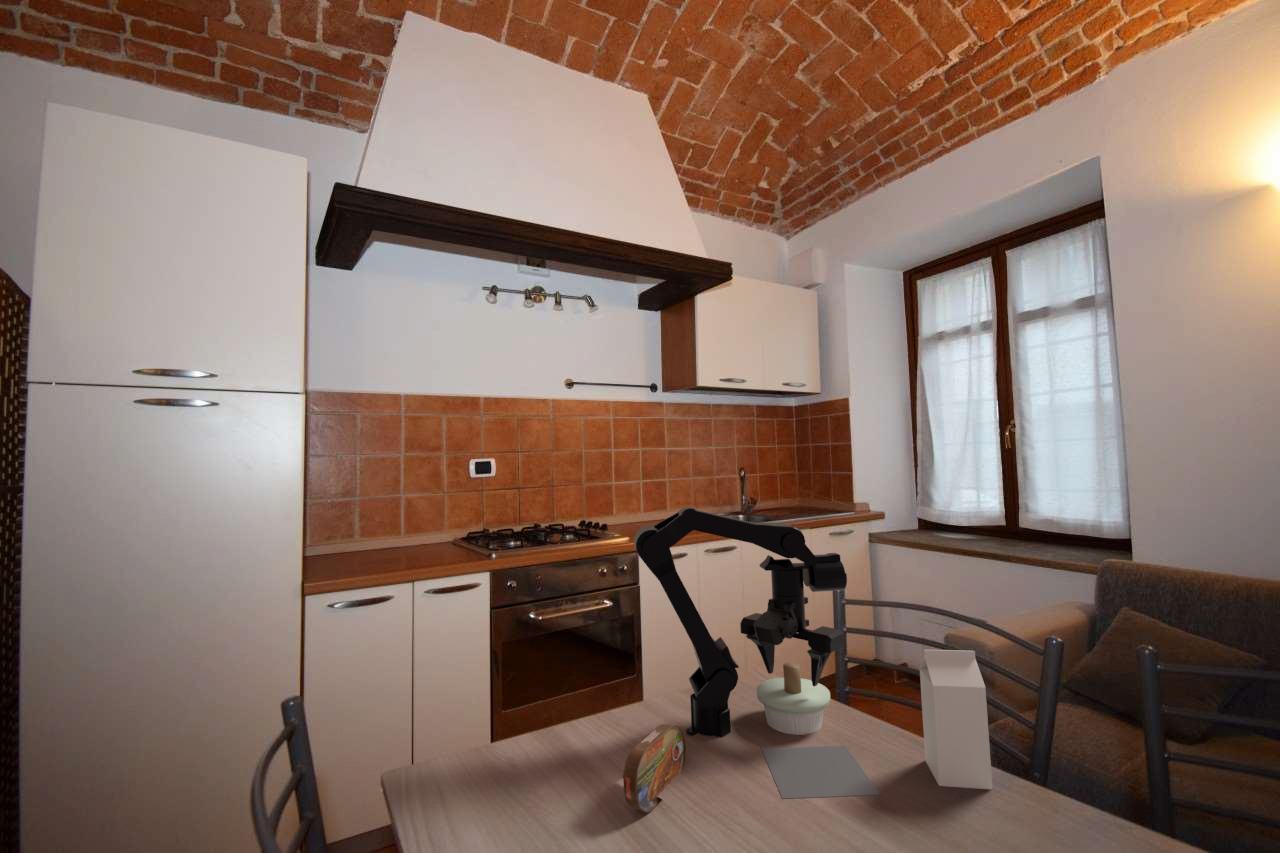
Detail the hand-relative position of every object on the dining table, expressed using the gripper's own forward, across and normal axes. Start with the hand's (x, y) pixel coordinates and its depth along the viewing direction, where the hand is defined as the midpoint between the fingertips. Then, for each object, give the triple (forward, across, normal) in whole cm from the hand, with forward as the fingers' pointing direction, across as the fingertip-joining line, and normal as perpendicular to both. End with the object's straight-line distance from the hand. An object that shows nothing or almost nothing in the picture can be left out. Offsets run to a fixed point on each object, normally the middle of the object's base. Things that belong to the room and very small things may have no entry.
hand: (792, 679), depth 105 cm
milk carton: (+9, +27, +1) cm, 28 cm away
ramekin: (+9, 0, 0) cm, 9 cm away
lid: (+3, 0, 0) cm, 3 cm away
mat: (+8, +11, -12) cm, 18 cm away
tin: (+9, -4, -32) cm, 33 cm away
